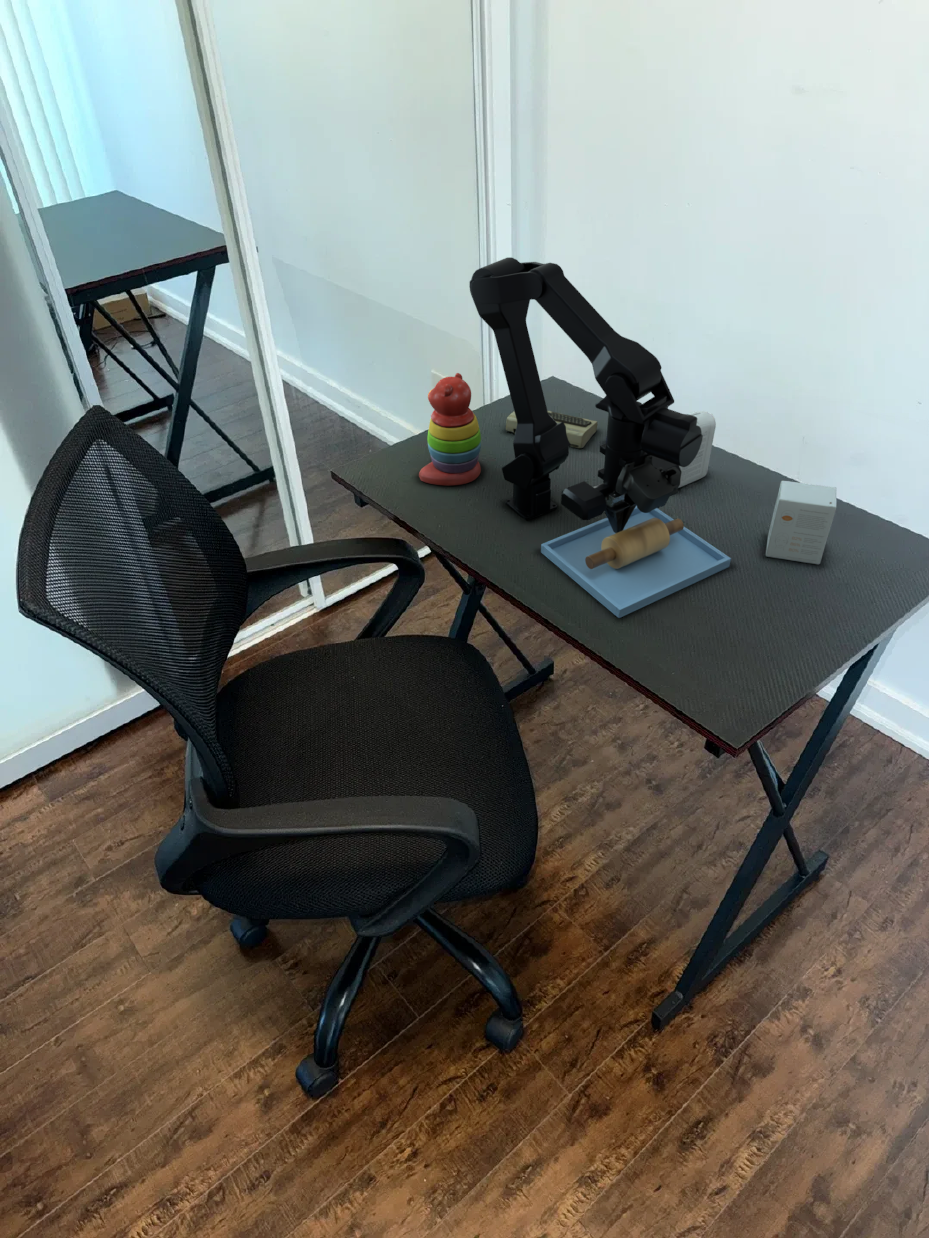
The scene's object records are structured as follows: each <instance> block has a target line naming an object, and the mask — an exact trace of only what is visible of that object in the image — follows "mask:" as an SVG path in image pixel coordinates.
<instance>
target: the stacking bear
mask: <svg viewBox="0 0 929 1238" xmlns="http://www.w3.org/2000/svg"><path fill="white" fill-rule="evenodd" d="M463 378H464V377H463V375H462V374H461V373H459V372H456V373H455V375H454V376H446V377H443V378H441V379H440V380H439V381H437V383H436V384H435V386H434V388H432V389H430V390H429V392H428V394H427V400H428V402H429V404H430V406H431V408H432V409H433V411H432V413H431V414H430V419H429V425H428V430H427V437H426V439H427V447H428V452H429V455H430V460H431V462H429V463H428V464H426V465H425V466H423V467H422V468H421V469H420V471H419V473H418V478H419V480H420V481H422V482H423V483H426V484H430V485H436V486H461V485H465V484H468V483H471V482H473V481H476V479H477V478H478V477H479V476H480V475H481V471H482V467H481V464H480V462H479V458H480V452H481V448H482V433H481V429H480V426H479V425H480V424H479V421H478V418H477V416H476V414H475V413H474V412H473V410H472V409H471V408H470V405H471V402H472V390H471V387H470V385H469V384H468V383H467V381H465V380H464V379H463Z"/></svg>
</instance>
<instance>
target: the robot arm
mask: <svg viewBox="0 0 929 1238" xmlns="http://www.w3.org/2000/svg"><path fill="white" fill-rule="evenodd" d="M468 283H469V284H468V285H469V292H470V296H471V298H472V301H473V303H474V305H475V309H476V311H477V314H478V316H479V317H480V318H481V319H482V320H483V321H484V322H485V324H487V326H488V327H489V328H491V330H492V332H493V334H494V338H495V341H496V346H497V349H498V353H499V356H500V357H499V358H500V361H501V364H502V369H503V372H504V376H505V381H506V384H507V388H508V391H509V396H510V400H511V403H512V407H513V412H514V411H515V415H516V419H517V427H516V432H515V433H514V437H513V441H512V446H513V454H514V459H512V460H511V461H509V462H508V463H506V464H505V465H504V466H502V467H501V471H502V472H501V473H502V476H503V478H504V479H503V480H504V481H506V482H508V483H510V484H512V497H511V498H508V499H506V500H505V505H507V507H509V508H510V509H511V510H513V511H514V513H516V514H517V515H519V516H520V517H521V518H522V519H523V520H525V521H528V520H529V521H530V520H532V519H534V518H537V517H540V516H542V515H545V514H547V513H550V512H553V511H555V510H557V509H558V505H557V504H556V503H555V502H553V501H552V489H551V482H552V478H550V474H551V473H553V472H555V471H557V470H559V468H561V467H560V466H561V465H562V464H563V463H565V462H566V460H567V459H568V457H569V454H570V450H569V447H572V446H571V444H570V442H569V440H568V438H567V434H566V426H565V424H564V423H563V422H561V423H557V422H556V421H555V420H554V419H553V418H552V417H551V416H550V415H549V414H548V411H549V410H548V407H547V404H546V399H545V395H544V391H543V386H542V382H541V378H540V374H539V370H538V367H537V362H536V358H535V353H534V350H533V346H532V341H531V337H530V333H529V329H528V325H527V316H528V312H529V308H530V303H531V300H534V301H536V303H537V304H539V306H540V307H541V308H542V309H543V310H544V312H546V314H547V315H548V316H549V317H550V318H551V319H552V320H553V321H554V322H555V323H556V324H557V325H558V327H559V328H560V329H561V330H562V331H563V333H565V334H566V335H567V336H568V338H569V339H570V340H571V341H572V342H573V343H574V344H575V345H576V347H577V348H578V349H579V350H580V351H581V352H582V353H583V354H584V355H585V357H586V358H587V359H588V360H589V362H590V363H591V365H592V370H593V375H594V379H595V381H596V382H597V384H598V385H599V387H600V388H601V390H602V391H603V393H604V395H605V396H604V397H603V398H602V399H600V400H599V401H598V402H596V403H595V404H594V406H595V408H596V409H598V410H600V411H604V412H606V413H608V414H607V415H608V416H607V425H606V436H607V437H606V438H605V439H606V440H605V443H604V444H600V445H599V453H600V454H602V455H604V462H603V468H601V469H598V470H597V477H598V478H599V479H601V480H602V483H600V484H597V485H595V486H592V485H590V484H589V483H588V482H587V481H585V480H583V481H581V482H578V483H576V484H573V485H570V486H568V487H566V488H564V489H563V490H561V495H560V505H561V506H563V508H565V509H567V510H568V511H569V512H570V513H572V514H573V515H575V516H576V517H578V518H579V519H580V520H581V521H590V520H592V519H596V518H598V517H600V516H602V515H603V514H604V513H605V515H606V518H608V520H609V522H610V525H611V527H612V529H613V532H615V533H618V532H620V531H623V529H624V527H625V525H626V523H627V522H628V520H629V518H630V516H631V514H632V512H633V510H634V509H635V507H636V506H637V508H638V509H639V510H640V511H641V512H643V513H648V512H651V511H652V510H654V509H656V508H658V509H659V508H663V507H664V506H666V504H667V502H668V501H669V499H670V498H671V497H672V496H675V495H677V494H678V493H679V488H680V487H679V485H680V479H681V473H682V471H681V469H680V466H681V467H686V466H688V465H689V464H690V463H691V462H692V461H693V460H694V459H695V457H696V455H697V453H698V451H699V449H700V446H701V443H702V438H703V435H702V433H701V428H700V427H699V426H697V417H695V416H692V415H689V414H688V413H682V412H679V411H675V410H673V409H670V408H669V407H670V406H672V405H673V404H675V399H674V396H673V395H672V392H671V390H670V388H669V386H668V384H667V382H666V379H665V377H664V375H663V373H662V369H663V368H662V364H661V362H660V361H659V359H658V358H657V357H656V355H654V354H653V353H652V352H650V351H649V350H648V349H647V348H645V347H644V346H643V345H642V344H640V343H639V342H638V341H636V340H633V339H630V338H627V337H625V336H622V335H621V334H619V333H618V332H617V331H616V330H615V329H614V328H613V327H612V326H611V325H610V324H609V323H608V322H607V320H606V319H605V318H604V317H603V316H602V315H601V314H600V313H599V312H598V311H597V310H596V309H595V308H594V306H593V305H592V304H591V303H590V302H589V301H588V300H587V299H586V298H585V296H584V295H582V293H581V292H580V291H579V290H578V289H577V288H576V287H575V285H573V284H572V282H571V281H569V279H568V278H567V277H566V275H565V272H564V270H563V268H562V267H561V266H560V265H559V264H558V263H555V262H546V263H541V262H538V261H525V262H520V261H519V260H518V259H516V258H514V257H512V256H511V257H507V256H506V257H505V258H503V259H500V260H497V261H495V262H492V263H489V264H487V265H485V266H483V267H480V268H478V269H476V270H475V271H474V272H473V274H472V276H471V279H470V280H469V282H468ZM649 394H652V395H653V397H651V398H649V399H647V400H646V401H645V402H643V403H642V402H641V401H639V400H641V399H642V398H644V397H645V396H647V395H649ZM678 487H679V488H678Z"/></svg>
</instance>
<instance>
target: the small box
mask: <svg viewBox="0 0 929 1238" xmlns="http://www.w3.org/2000/svg"><path fill="white" fill-rule="evenodd" d="M775 500H776V501H775V504H774V507H773V512H772V516H771V517H772V518H771V522H770V526H769V530H768V534H767V538H766V539H767V540H766V548H765V557H766V558H767V557H768V558H773V559H780V560H788V561H794V562H799V563H800V562H801V563H807V564H813V565H820V564H821V563H822V558H823V555H824V552H825V548H826V546H827V545H826V544H827V541H828V538H829V535H830V531H831V529H832V525H833V521H834V519H835V515H836V512H837V487H836V486H828V485H821V484H812V483H805V482H804V483H803V482H797V481H789V480H781V481H780V484H779V488H778V493H777V497H776V499H775Z"/></svg>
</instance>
